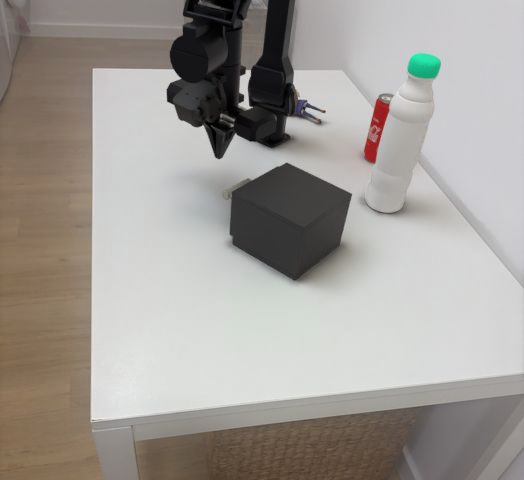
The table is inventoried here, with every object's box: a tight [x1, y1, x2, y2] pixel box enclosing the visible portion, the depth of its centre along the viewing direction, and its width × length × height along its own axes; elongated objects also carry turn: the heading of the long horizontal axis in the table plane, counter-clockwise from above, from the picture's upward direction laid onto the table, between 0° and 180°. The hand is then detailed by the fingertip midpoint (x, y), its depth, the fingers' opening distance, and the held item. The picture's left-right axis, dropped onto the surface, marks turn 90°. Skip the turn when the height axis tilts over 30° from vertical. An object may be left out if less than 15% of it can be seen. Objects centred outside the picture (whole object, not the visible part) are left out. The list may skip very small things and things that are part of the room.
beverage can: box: [363, 92, 395, 164], centre depth 104 cm, size 5×5×12 cm
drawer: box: [221, 165, 280, 237], centre depth 84 cm, size 16×11×8 cm
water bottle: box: [364, 52, 442, 214], centre depth 88 cm, size 7×7×25 cm
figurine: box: [296, 89, 327, 124], centre depth 118 cm, size 6×4×15 cm
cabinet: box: [232, 162, 353, 281], centre depth 82 cm, size 13×13×10 cm
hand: (218, 158), depth 89 cm, fingers closed
